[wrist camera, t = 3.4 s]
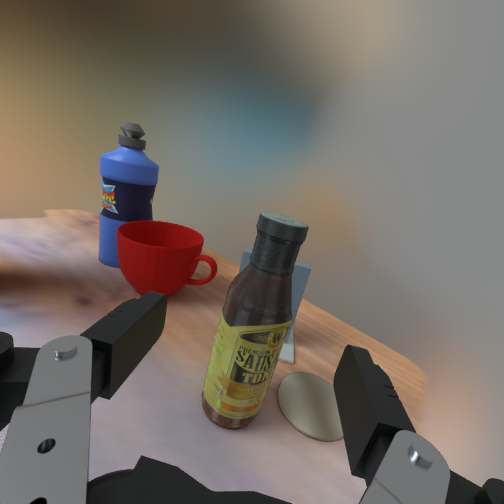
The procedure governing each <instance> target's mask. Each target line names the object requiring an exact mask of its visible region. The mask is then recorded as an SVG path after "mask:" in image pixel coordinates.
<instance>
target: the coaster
mask: <svg viewBox="0 0 504 504" xmlns="http://www.w3.org/2000/svg"><path fill="white" fill-rule="evenodd" d="M278 401H279V405H280V407H281V410H282V412H283V413H284V415H285V417H286V418H287V419H288V421H289V422H290V423H291V424H292V425H293V426H294V427H295V428H296V429H297V430H299V431H300V432H301V433H303V434H305V435H306V436H308V437H310V438H313V439H315V440H319V441H325V442H330V441H336V440H338V439H340V438H342V437H343V431H342V426H341V421H340V417H339V412H338V407H337V402H336V397H335V393H334V386H332V385H331V384H330V383H329V382H327V381H326V380H324V379H322V378H320V377H318V376H316V375H313V374H310V373H304V372H296V373H292V374H289V375H288V376H286V377H285V378H284V379H283V380H282V382H281V384H280V387H279V390H278Z"/></svg>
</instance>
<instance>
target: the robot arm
mask: <svg viewBox="0 0 504 504" xmlns="http://www.w3.org/2000/svg"><path fill="white" fill-rule="evenodd" d="M167 299H168V298H167V295H165V294H161V293H158V292H154V291H148V292H147V293H146V294H145V295H143V296H142V297H141V298H140V299H136V298H134V299H131V300H128V301H126V302H123V303H122V304H120V305H119V306H118V307H116V308H115V309H114V311H113V310H112V311H111V312H110V313H108V314H107V316H104V317H103V318H102V319H100V320H99V321H98V322H97V323H95V324H94V325H93V326H91V327H90V328H89V329H87V330H86V331H85V332H83V333H82V334H81V335H79V336H65V337H60V338H57V339H54V340H52V341H50V342H48V343H47V344H45V345H44V346H43V347H42V348H22V347H14V344H13V338H12V336H11V335H10V334H8V333H5V332H0V431H1V430H2V429H3V428H4V427H6V426H7V425H8V424H9V423H10V424H9V428H8V431H7V434H6V437H5V440H4V444H3V447H2V450H1V453H0V504H292V503H289V502H286V501H283V500H280V499H276V498H273V497H270V496H267V495H264V494H261V493H258V492H255V491H224V492H216V491H211V490H209V489H208V488H206V487H205V486H203V485H202V484H201V483H199V482H198V481H196V480H195V479H194V478H192V477H191V476H189V475H188V474H187V473H185V472H184V471H182V470H181V469H180V468H178V467H176V466H173V465H170V464H167V463H164V462H160V461H157V460H154V459H151V458H148V457H145V456H142V455H141V457H140V459H139V460H138V462H137V464H136V466H135V468H134V469H127V470H120V471H115V472H112V473H108V474H105V475H102V476H100V477H97V478H95V479H93V480H91V481H89V451H90V422H91V404H92V403H93V402H94V401H95V400H96V398H97V397H98V396H99V397H102V398H105V399H109V400H110V399H111V397H112V396H113V395H114V394H115V392H116V391H117V390H118V389H119V387H120V386H121V385H122V384H123V382H124V381H125V380H126V379H127V378H128V376H129V375H130V374H131V373H132V371H133V370H134V369H135V368H136V366H137V365H138V364H139V363H140V361H141V360H142V359H143V358H144V356H145V355H146V354H147V353H148V351H149V350H150V349H151V348H152V346H153V345H154V344H155V343H156V341H157V340H158V339H159V337H160V336H161V334H162V331H163V328H164V324H165V316H166V308H167ZM334 393H335V397H336V402H337V407H338V412H339V417H340V421H341V426H342V431H343V436H344V441H345V445H346V450H347V455H348V460H349V465H350V470H351V474H352V475H353V476H357V477H360V478H363V479H365V481H366V485H367V488H366V490H365V492H364V494H363V496H362V498H361V500H360V502H359V504H504V481H502V480H499V479H494V478H491V479H488V480H487V481H486V482H485V484H484V485H483V486H482V488H481V487H479V486H478V485H476V484H474V483H472V482H471V481H469V480H467V479H465V478H464V477H462V476H460V475H458V474H456V473H455V472H453V471H451V470H450V469H449V467H448V465H447V462H446V461H445V459H444V457H443V456H442V455H441V453H440V452H439V451H438V450H437V449H436V448H435V447H434V446H433V445H432V444H431V443H430V442H429V441H427V440H426V439H425V438H423V437H422V436H420V435H418V434H417V433H416V431H415V429H414V427H413V425H412V423H411V421H410V419H409V417H408V415H407V413H406V411H405V409H404V407H403V405H402V403H401V401H400V400H399V397H398V395H397V393H396V391H395V390H394V387H393V385H392V383H391V381H390V379H389V376H388V375H387V374H386V373H385V372H384V371H383V370H382V369H381V368H380V366H379V365H375V364H374V363H373V361H372V358H371V356H370V354H369V352H368V350H367V349H363V348H360V347H356V346H352V345H347V346H346V348H345V350H344V352H343V355H342V357H341V360H340V362H339V365H338V367H337V370H336V372H335V376H334Z"/></svg>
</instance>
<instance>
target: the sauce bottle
mask: <svg viewBox="0 0 504 504" xmlns="http://www.w3.org/2000/svg"><path fill="white" fill-rule="evenodd" d="M307 231H308V226H307V224H306V223H304V222H302V221H300V220H298V219H294V218H291V217H288V216H284V215H281V214H276V213H271V212H262V213H261V214H260V216H259V220H258V223H257V236H256V240H255V243H254V248H253V251H252V254H251V256H250V259H249V264H248V266H246V268H245V269H244V270H242V271H241V272H240V273H239V274H238V275H237V276H236V277H235V278H234V280H233V281H232V283H231V284H230V286H229V289H228V293H227V297H226V301H225V305H224V307H223V309H222V312H221V317H220V320H219V324H218V328H217V332H216V336H215V341H214V344H213V348H212V352H211V356H210V360H209V364H208V368H207V372H206V376H205V380H204V385H203V392H202V403H203V409H204V410H205V413H206V414H207V416H208V417H209V418H210V420H211V421H212V422H214V423H216V424H217V425H219V426H222V427H226V428H241V427H243V426H246V425H248V424H249V423H250V422H251V421H252V420H253V418H254V417H255V416H256V414H257V412H258V411H259V410H260V408H261V406H262V404H263V401H264V398H265V395H266V393H267V390H268V387H269V384H270V381H271V378H272V375H273V372H274V370H275V367H276V364H277V361H278V358H279V355H280V352H281V349H282V347H283V343H284V341H285V338H286V335H287V332H288V329H289V327H290V324H291V321H292V273H293V271H294V264H295V261H296V258H297V255H298V252H299V249H300V246H301V244H302V243H303V242H304V241H305V238H306V235H307Z"/></svg>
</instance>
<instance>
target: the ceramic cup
mask: <svg viewBox="0 0 504 504" xmlns="http://www.w3.org/2000/svg"><path fill="white" fill-rule="evenodd" d="M203 241H204V239H203V236H202V235H201V234H199V233H198V232H197V231H195V230H193V229H190V228H188V227H184V226H182V225H178V224H173V223H168V222H161V221H132V222H127V223H124V224H122V225H120V226H119V227H118V229H117V254H118V261H119V265H120V268H121V271H122V273H123V275H124V276H125V278H126V280H127V281H128V282H129V283H130V284H131V285H132V286H133V287H134V288H135V289H136V291H137V292H138V293H140V294H141V295H145V294H146V293H147V292H148V291H154V292H158V293H161V294H165V295H167V297H168V296H171V295H173V294H174V293H175V292H176V291H177V290H179V289H180V288H182V287H183V286H184V285H185V284H188V285H202V284H205V283H208V282H209V281H211V280H212V279H213V278H214V277H215V275H216V273H217V264H216V262H215V260H214V259H213V258H211V257H209V256H206V255H201V251H202V247H203ZM201 260H202V261H206V262H207V263H209V265H210V267H211V273H210V275H209V276H208V277H207V278H206V279H202V280H193V279H190V278H191V277H192V275H193V273H194V272H195V269H196V267H197V264H198V261H201Z"/></svg>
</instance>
